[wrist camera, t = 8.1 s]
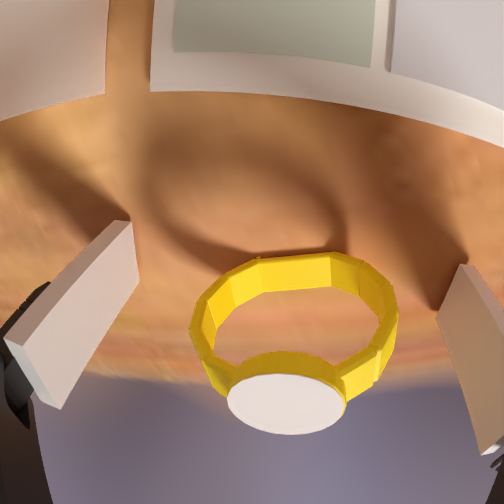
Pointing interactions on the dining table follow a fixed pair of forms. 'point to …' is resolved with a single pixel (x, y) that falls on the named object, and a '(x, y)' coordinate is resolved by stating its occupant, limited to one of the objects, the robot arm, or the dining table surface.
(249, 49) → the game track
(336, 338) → the dining table surface
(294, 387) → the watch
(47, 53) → the base
